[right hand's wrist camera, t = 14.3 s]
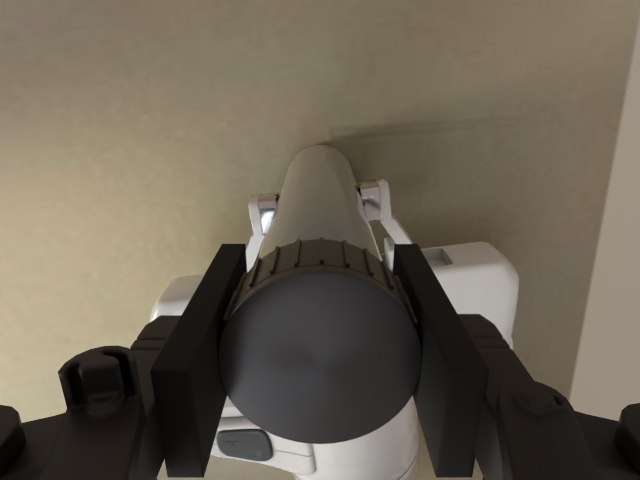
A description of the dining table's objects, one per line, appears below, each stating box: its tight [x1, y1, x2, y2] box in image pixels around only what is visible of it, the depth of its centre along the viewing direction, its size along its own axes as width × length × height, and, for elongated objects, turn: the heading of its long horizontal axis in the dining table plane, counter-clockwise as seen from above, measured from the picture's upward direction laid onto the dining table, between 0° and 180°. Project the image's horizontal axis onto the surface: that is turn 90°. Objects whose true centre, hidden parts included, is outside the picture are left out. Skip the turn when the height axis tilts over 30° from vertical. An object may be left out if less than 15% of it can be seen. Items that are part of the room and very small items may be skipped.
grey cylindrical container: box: [259, 145, 382, 261], centre depth 20 cm, size 4×4×20 cm
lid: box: [217, 237, 423, 444], centre depth 11 cm, size 5×5×2 cm
